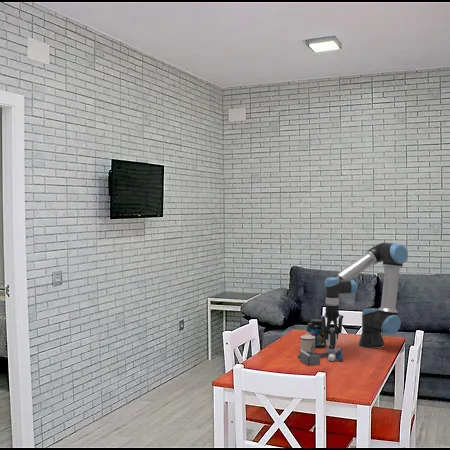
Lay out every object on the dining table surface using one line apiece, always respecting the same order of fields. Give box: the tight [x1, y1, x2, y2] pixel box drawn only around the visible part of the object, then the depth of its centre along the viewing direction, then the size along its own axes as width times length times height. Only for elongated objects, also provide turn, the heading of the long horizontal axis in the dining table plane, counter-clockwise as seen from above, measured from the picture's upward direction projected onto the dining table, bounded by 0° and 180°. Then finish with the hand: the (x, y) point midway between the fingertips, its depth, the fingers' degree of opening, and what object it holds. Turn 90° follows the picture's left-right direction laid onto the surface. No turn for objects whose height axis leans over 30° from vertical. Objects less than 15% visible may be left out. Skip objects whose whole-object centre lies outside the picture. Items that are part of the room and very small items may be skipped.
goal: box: [299, 350, 321, 366], centre depth 333 cm, size 7×11×6 cm, turn 15°
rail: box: [296, 351, 343, 360], centre depth 345 cm, size 27×2×2 cm, turn 105°
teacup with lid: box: [299, 332, 316, 354], centre depth 358 cm, size 12×9×12 cm
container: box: [306, 318, 327, 349], centre depth 373 cm, size 12×12×17 cm
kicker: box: [324, 330, 344, 362], centre depth 342 cm, size 6×14×14 cm, turn 15°
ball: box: [327, 354, 336, 362], centre depth 336 cm, size 4×4×4 cm
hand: (331, 345), depth 347 cm, fingers closed on kicker, 4 cm apart
